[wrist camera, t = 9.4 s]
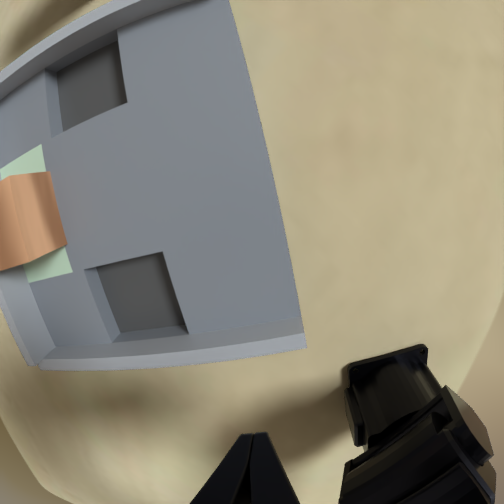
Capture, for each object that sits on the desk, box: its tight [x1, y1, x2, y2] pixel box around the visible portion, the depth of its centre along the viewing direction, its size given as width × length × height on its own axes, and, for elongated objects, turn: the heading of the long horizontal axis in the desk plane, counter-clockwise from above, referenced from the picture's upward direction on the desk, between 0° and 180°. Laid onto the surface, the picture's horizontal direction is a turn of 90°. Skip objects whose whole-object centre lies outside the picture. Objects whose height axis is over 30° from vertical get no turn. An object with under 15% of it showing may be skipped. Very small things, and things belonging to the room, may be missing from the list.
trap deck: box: [0, 0, 307, 371], centre depth 16 cm, size 20×22×5 cm
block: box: [0, 171, 68, 271], centre depth 15 cm, size 5×5×4 cm
